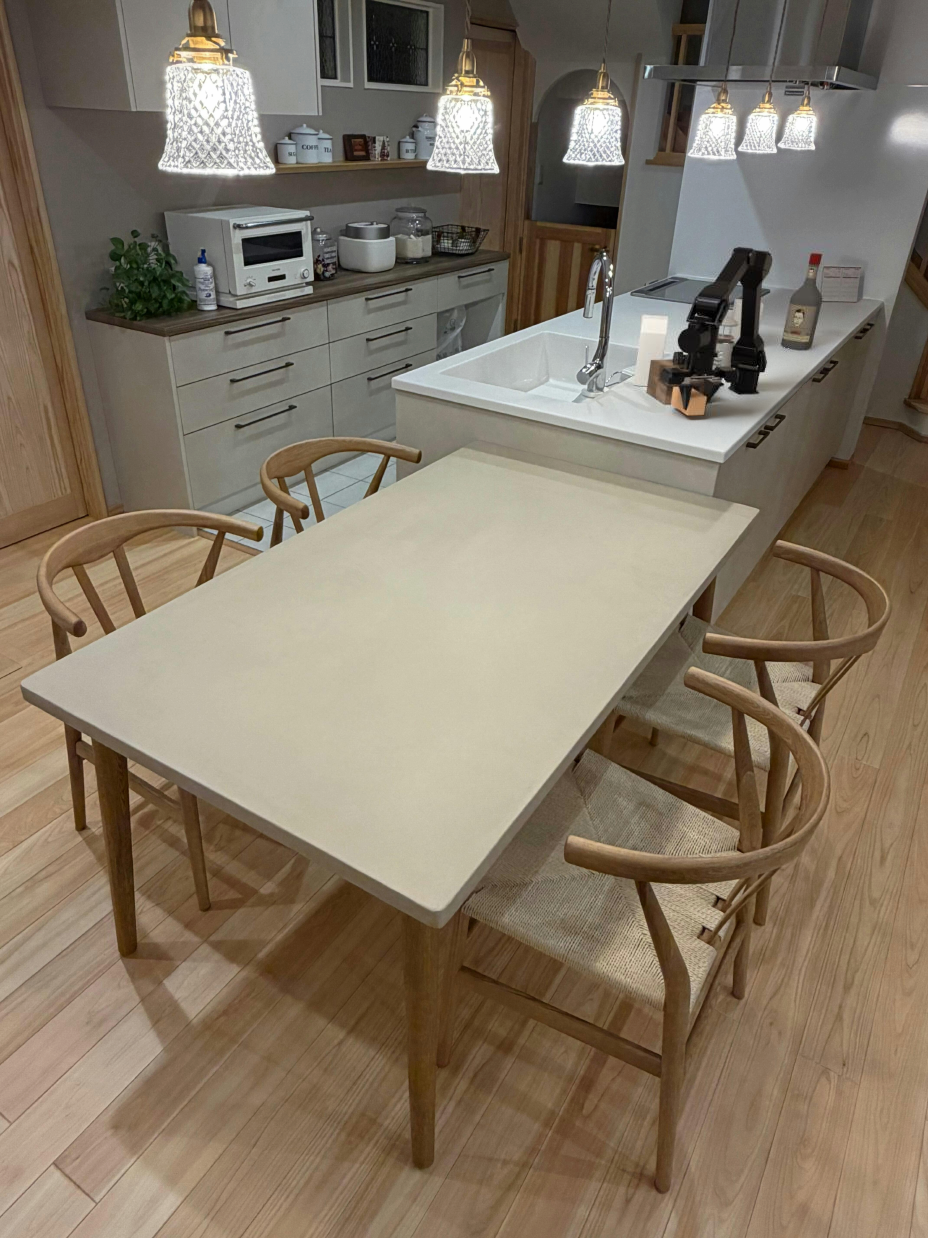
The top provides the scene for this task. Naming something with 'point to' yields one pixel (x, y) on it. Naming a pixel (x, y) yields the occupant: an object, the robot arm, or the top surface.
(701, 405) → the orange rectangular block
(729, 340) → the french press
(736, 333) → the supplement box
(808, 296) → the liquor
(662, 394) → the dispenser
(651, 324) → the milk carton
